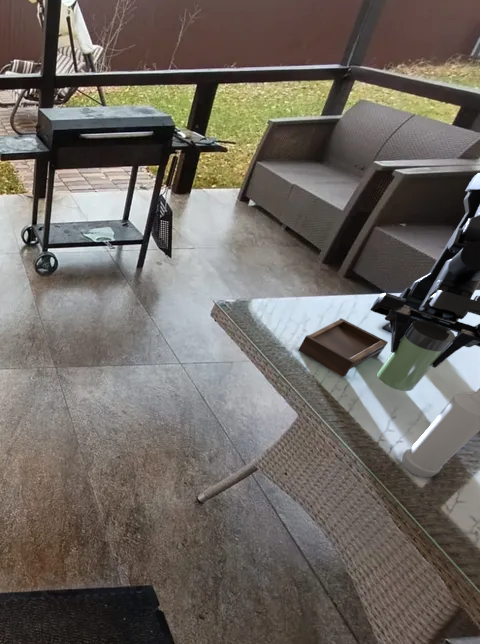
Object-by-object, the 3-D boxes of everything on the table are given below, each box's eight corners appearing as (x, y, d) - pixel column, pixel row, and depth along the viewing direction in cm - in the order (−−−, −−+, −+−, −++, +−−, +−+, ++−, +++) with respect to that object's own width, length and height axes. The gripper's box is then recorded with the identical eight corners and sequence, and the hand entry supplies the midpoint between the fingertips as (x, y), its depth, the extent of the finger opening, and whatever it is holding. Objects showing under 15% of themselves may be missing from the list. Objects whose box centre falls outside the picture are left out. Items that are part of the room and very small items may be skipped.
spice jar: (386, 365, 97) (422, 316, 90) (421, 384, 93) (462, 334, 85) (370, 376, 95) (405, 326, 87) (404, 395, 91) (444, 345, 83)
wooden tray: (332, 332, 116) (341, 318, 114) (378, 356, 109) (388, 342, 106) (297, 350, 111) (305, 336, 108) (343, 377, 104) (352, 362, 101)
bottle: (392, 455, 87) (479, 356, 72) (418, 453, 88) (510, 353, 73) (415, 479, 83) (512, 379, 68) (443, 477, 84) (545, 377, 68)
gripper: (404, 256, 87) (363, 329, 88) (545, 294, 77) (497, 377, 78) (389, 275, 97) (352, 341, 97) (512, 311, 86) (470, 385, 87)
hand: (412, 359), depth 89 cm, fingers closed on spice jar, 6 cm apart
